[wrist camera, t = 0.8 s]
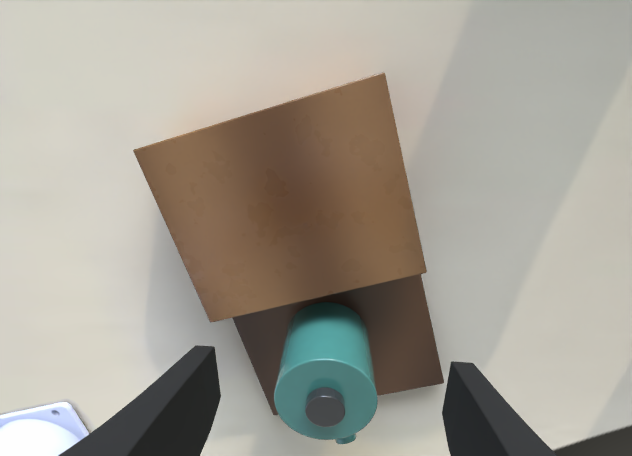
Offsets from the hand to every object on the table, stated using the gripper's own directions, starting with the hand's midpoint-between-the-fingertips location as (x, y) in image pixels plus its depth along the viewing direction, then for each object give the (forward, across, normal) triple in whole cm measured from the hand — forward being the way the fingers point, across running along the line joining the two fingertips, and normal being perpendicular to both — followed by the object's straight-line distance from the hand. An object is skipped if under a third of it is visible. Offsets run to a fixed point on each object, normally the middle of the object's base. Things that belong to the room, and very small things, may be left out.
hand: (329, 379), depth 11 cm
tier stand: (+10, +1, +2) cm, 10 cm away
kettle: (+9, 0, +5) cm, 10 cm away
